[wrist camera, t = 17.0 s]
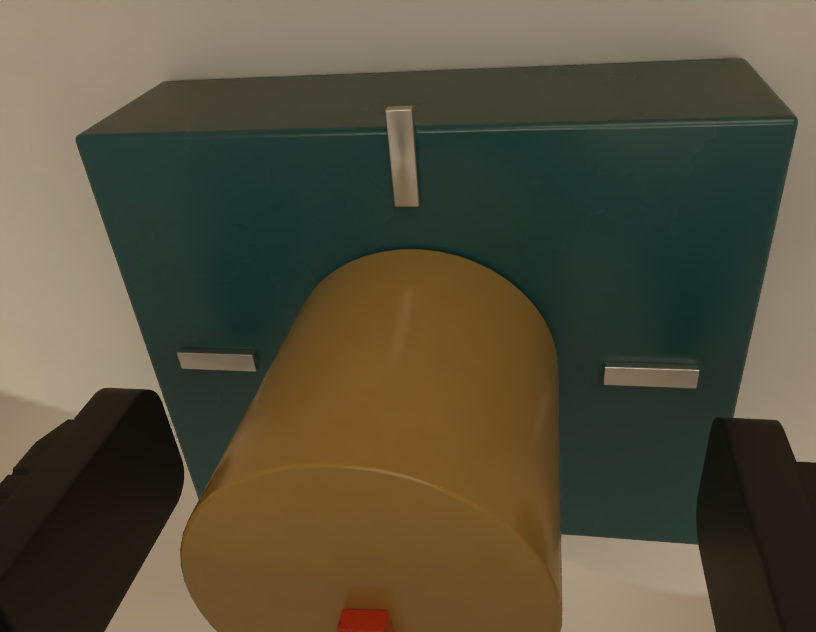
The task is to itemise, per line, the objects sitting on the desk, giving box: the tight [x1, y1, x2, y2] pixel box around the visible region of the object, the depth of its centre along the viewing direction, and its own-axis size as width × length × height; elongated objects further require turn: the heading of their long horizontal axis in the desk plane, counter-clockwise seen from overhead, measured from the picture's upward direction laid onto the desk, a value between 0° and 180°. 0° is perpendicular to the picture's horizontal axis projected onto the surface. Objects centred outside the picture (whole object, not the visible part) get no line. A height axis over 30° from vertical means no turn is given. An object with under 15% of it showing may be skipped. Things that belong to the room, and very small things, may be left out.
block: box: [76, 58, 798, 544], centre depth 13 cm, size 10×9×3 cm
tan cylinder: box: [180, 249, 562, 632], centre depth 10 cm, size 4×4×5 cm
